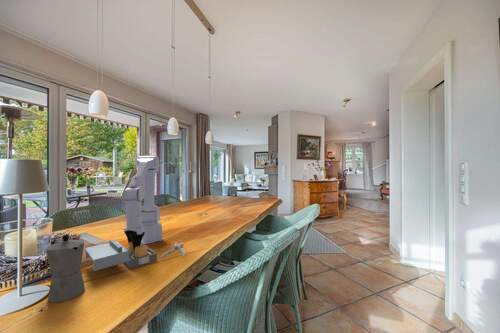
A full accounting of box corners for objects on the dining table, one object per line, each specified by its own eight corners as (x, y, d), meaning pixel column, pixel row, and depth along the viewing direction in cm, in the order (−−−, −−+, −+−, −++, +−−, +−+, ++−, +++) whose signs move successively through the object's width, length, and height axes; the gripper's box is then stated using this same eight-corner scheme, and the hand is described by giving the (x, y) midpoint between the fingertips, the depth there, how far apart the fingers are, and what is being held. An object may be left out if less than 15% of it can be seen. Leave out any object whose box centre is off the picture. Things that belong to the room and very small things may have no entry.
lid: (117, 250, 94) (116, 237, 94) (128, 261, 82) (128, 246, 82) (85, 258, 86) (85, 244, 86) (93, 271, 75) (93, 255, 75)
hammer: (159, 255, 92) (168, 243, 107) (159, 259, 93) (168, 246, 107) (184, 253, 94) (189, 241, 109) (184, 257, 94) (189, 245, 109)
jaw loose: (138, 252, 97) (138, 240, 98) (142, 254, 94) (141, 241, 95) (127, 255, 94) (126, 242, 95) (130, 257, 91) (130, 244, 92)
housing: (144, 251, 101) (143, 244, 101) (157, 260, 90) (157, 253, 90) (119, 258, 94) (119, 250, 94) (130, 269, 83) (130, 261, 83)
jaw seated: (145, 257, 92) (144, 244, 92) (149, 260, 89) (148, 246, 89) (133, 260, 89) (133, 247, 89) (137, 264, 86) (137, 250, 86)
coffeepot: (96, 291, 68) (94, 233, 68) (58, 309, 60) (56, 242, 60) (71, 280, 76) (69, 227, 76) (34, 294, 67) (32, 235, 67)
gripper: (118, 215, 97) (119, 246, 97) (128, 220, 87) (129, 255, 87) (135, 212, 102) (136, 242, 102) (147, 217, 92) (148, 250, 92)
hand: (134, 247), depth 95 cm, fingers open, 5 cm apart
